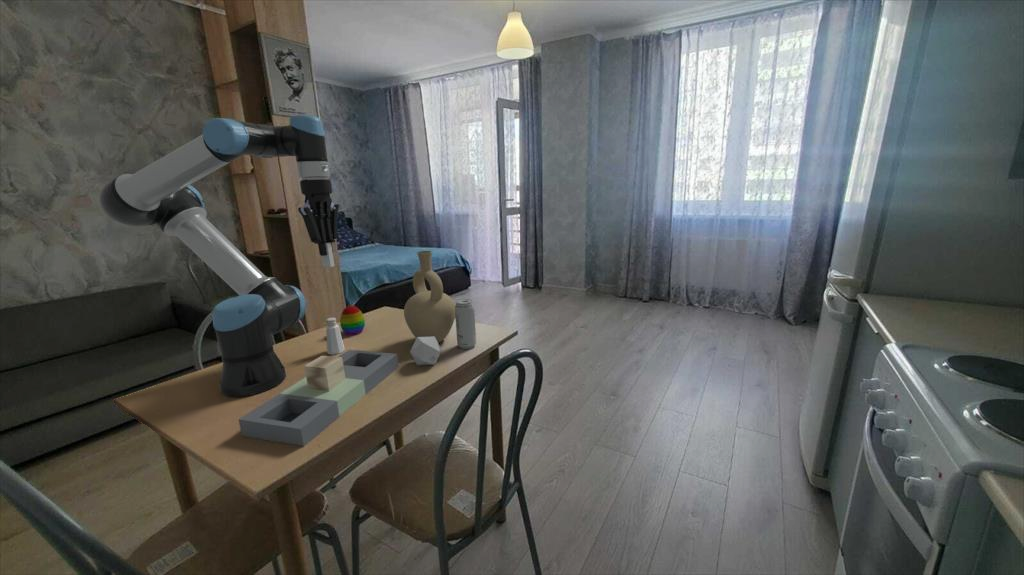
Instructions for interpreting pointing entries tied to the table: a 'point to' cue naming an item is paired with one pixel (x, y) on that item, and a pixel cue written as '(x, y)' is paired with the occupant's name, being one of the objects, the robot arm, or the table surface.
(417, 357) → the die
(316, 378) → the birch block
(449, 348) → the table surface
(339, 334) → the pepper shaker
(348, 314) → the decorative egg
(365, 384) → the board
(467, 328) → the energy drink can
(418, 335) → the vase
